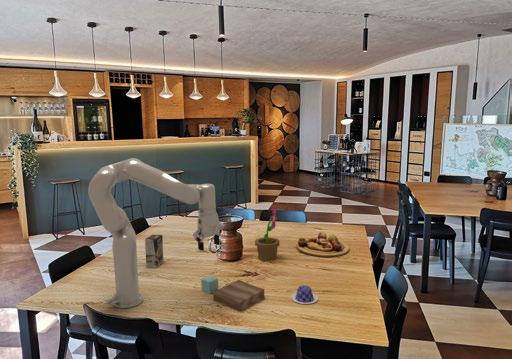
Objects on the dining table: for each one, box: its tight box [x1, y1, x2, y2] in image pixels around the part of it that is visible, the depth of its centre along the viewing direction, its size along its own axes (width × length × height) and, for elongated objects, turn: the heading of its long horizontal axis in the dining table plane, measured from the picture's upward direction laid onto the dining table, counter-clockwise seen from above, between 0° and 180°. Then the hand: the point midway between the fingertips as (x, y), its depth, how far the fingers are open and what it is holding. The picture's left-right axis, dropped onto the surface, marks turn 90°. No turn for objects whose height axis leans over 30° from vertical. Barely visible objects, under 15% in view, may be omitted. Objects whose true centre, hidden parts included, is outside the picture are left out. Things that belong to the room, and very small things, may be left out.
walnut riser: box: [212, 279, 265, 312], centre depth 168 cm, size 16×16×4 cm
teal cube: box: [200, 275, 219, 294], centre depth 177 cm, size 6×6×6 cm
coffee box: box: [144, 234, 165, 269], centre depth 208 cm, size 9×6×16 cm
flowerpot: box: [254, 208, 280, 262], centre depth 215 cm, size 14×14×30 cm
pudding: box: [290, 285, 319, 305], centre depth 167 cm, size 12×12×5 cm
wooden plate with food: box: [295, 231, 350, 259], centre depth 232 cm, size 32×32×8 cm
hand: (209, 247), depth 174 cm, fingers open, 9 cm apart
